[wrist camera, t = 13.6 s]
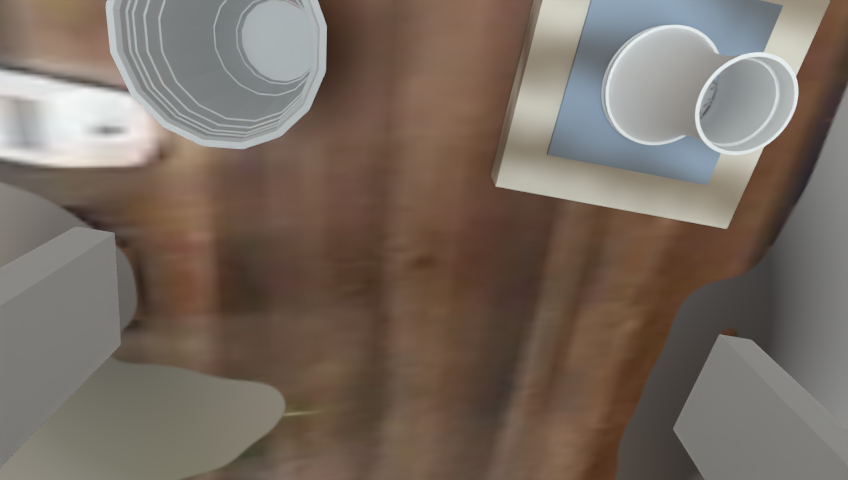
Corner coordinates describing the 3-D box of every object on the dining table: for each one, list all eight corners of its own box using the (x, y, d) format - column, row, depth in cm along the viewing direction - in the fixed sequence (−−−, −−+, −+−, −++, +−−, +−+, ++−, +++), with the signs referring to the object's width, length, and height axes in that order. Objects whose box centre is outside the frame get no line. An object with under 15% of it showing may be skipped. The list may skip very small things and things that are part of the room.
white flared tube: (674, -2, 31) (779, -18, 22) (736, 88, 33) (855, 108, 24) (578, 83, 33) (637, 102, 24) (641, 164, 35) (718, 209, 26)
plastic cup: (373, -21, 34) (348, -48, 23) (339, 133, 38) (304, 173, 27) (213, -72, 33) (104, -127, 22) (195, 92, 37) (96, 117, 25)
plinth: (705, 215, 40) (729, 230, 37) (490, 175, 39) (496, 187, 36) (812, -32, 33) (851, -38, 30) (555, -90, 32) (569, -103, 29)
